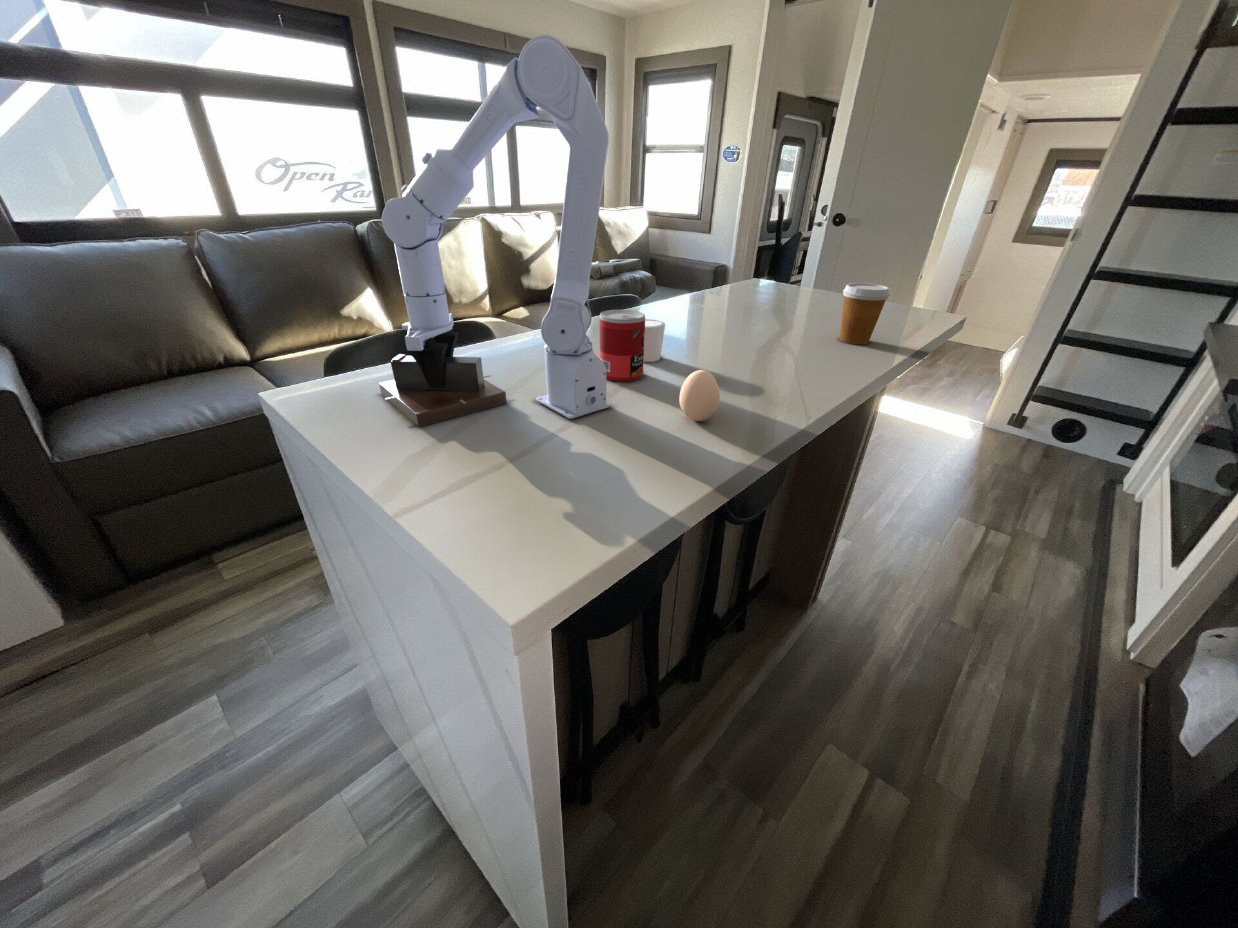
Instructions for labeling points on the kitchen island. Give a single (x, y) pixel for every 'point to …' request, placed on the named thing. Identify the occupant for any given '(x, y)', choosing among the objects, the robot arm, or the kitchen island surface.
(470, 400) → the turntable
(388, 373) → the kitchen island surface
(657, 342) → the white cup
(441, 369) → the robot arm
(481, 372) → the gray steel bar
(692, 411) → the egg
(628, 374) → the canned food
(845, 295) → the disposable coffee cup
